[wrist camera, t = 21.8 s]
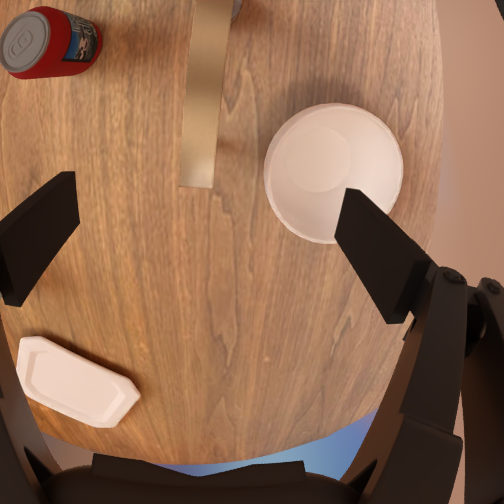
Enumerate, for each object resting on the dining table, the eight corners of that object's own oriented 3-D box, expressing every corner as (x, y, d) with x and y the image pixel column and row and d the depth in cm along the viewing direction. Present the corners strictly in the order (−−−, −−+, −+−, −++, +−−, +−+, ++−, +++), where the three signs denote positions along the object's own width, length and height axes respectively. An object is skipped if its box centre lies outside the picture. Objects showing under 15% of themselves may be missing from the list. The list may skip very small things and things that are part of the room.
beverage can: (115, 48, 26) (70, 37, 16) (70, 87, 28) (13, 97, 17) (86, 9, 23) (34, -12, 13) (43, 49, 24) (-18, 47, 14)
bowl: (330, 233, 41) (350, 265, 34) (232, 180, 36) (236, 205, 30) (393, 143, 35) (427, 160, 29) (300, 73, 30) (321, 73, 24)
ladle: (200, -10, 24) (191, -59, 12) (242, -7, 25) (258, -54, 13) (183, 146, 33) (165, 186, 22) (223, 148, 34) (227, 189, 22)
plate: (111, 425, 61) (109, 433, 59) (16, 382, 52) (13, 389, 50) (149, 379, 52) (148, 388, 51) (26, 318, 43) (22, 327, 41)
